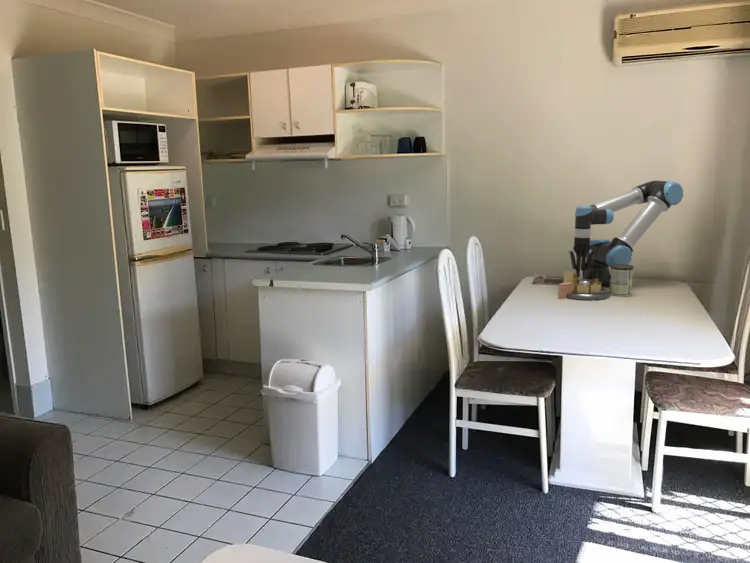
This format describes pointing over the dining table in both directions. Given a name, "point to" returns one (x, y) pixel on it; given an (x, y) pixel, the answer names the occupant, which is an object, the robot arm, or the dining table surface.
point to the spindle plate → (596, 296)
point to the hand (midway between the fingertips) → (579, 282)
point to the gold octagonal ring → (580, 288)
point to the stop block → (564, 290)
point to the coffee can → (621, 280)
